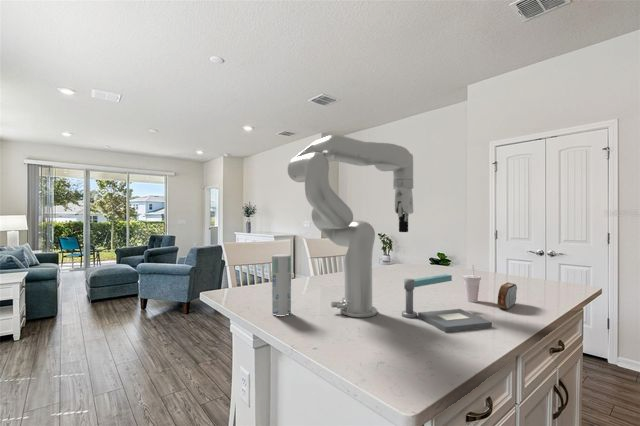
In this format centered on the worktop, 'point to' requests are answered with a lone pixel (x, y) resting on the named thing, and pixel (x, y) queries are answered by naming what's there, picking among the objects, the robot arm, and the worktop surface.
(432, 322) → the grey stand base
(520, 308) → the worktop surface
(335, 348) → the worktop surface
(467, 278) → the smoothie
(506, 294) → the tin
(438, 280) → the swing bar
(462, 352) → the worktop surface
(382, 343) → the worktop surface
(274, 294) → the spray can
